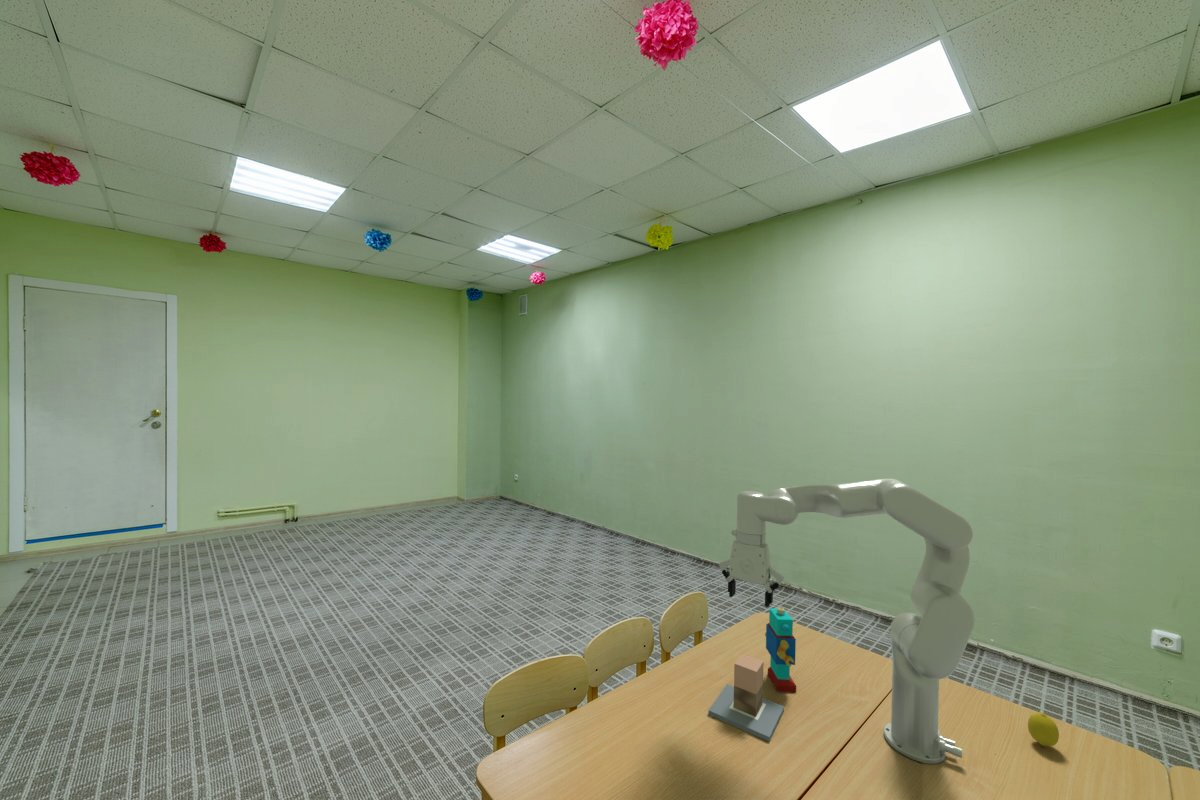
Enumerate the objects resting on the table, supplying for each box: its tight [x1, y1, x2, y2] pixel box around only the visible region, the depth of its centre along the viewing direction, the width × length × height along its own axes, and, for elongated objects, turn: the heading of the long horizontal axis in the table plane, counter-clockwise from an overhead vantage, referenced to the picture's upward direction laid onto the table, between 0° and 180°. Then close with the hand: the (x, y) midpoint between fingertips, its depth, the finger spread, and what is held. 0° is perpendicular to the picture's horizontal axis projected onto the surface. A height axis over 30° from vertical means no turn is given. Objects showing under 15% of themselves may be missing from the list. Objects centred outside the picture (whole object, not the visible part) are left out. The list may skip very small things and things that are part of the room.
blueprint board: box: [707, 683, 785, 742], centre depth 123 cm, size 16×14×1 cm
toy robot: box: [764, 599, 797, 693], centre depth 136 cm, size 12×6×25 cm, turn 179°
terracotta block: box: [733, 653, 764, 694], centre depth 123 cm, size 6×6×6 cm
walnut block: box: [733, 683, 764, 717], centre depth 124 cm, size 6×6×6 cm
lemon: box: [1027, 712, 1060, 747], centre depth 112 cm, size 6×6×8 cm
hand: (749, 600), depth 123 cm, fingers open, 9 cm apart
